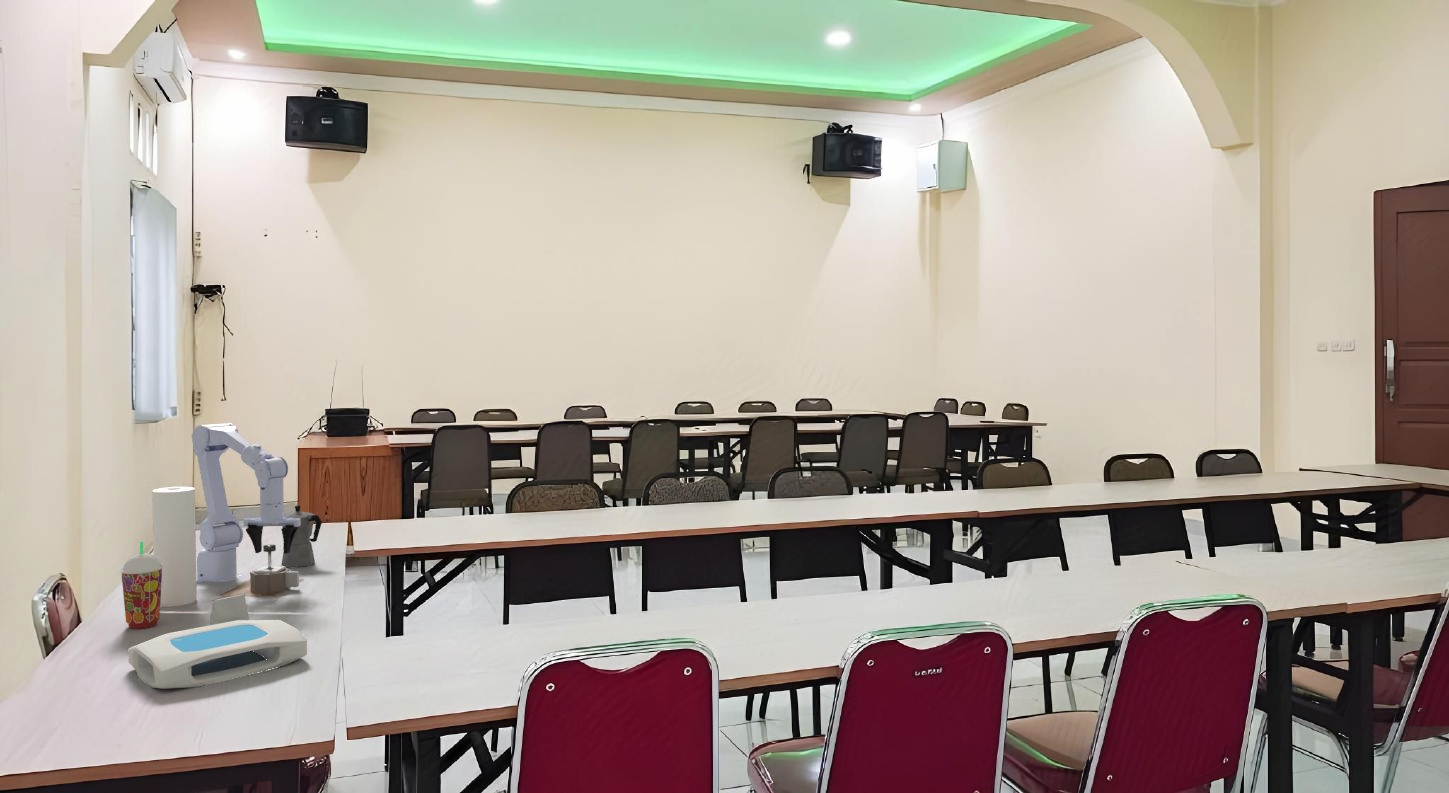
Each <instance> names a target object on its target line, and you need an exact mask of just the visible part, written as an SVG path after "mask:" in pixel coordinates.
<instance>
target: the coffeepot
mask: <svg viewBox="0 0 1449 793" xmlns="http://www.w3.org/2000/svg"><path fill="white" fill-rule="evenodd" d="M294 508H295V509H294V510H295V511H291V512H287V513H284V517H285V518H299V519H301V525H300V526H298V529H297V531H296V533H295V535H294V538H293V540H292V543H291V547H290V552H288V553H284V551H283V552H282V560H281V566H285V568H289V567H296V568H304V567H309V566H308V565H310V566H312V565H314V564H315V555H314V554H315V553H314V550H313V546H312V543H314V542H315V543H316V542H317V540H318V538H319V533H320V530H321V527H322V524H323V523H322V522H323V521H322V519H321V518H320V516H319V515H318V514H314V513H312V512H306V511H301V505H299V504H298V505H297V504H296V505H294ZM314 523H315V524H314ZM314 525H315V527H314ZM281 527H282V528H284V527H285V526H281ZM282 528H281V529H282ZM313 528H314V531H313ZM312 535H313V537H312V538H310V537H311V536H312ZM313 563H314V564H313ZM311 564H312V565H311Z"/></svg>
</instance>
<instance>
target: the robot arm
mask: <svg viewBox="0 0 1449 793" xmlns="http://www.w3.org/2000/svg"><path fill="white" fill-rule="evenodd" d="M191 440H192V446H193V451H194V455H195V457H196V459H197V464H198V468H199V475H200V480H201V484H202V490H203V496H204V500H205V506H206V511H207V517H206V518H205V519H204V520H203V521H202V522H201V523H200V524H199V528H200V532H199V542H200V544H201V546H202V547H203V548H202V549H201V550H199V552H198V554H197V556H196V583H203V582H231V581H234V580H235V579H237V578H240V577H241V576H243V574H238V573H237V572H238V570H237V548H238V547H239V546H240V544H241V543H242V542H243V538H244V529H243V527H247V528H245V532H246V533H247V535H248V537H249V538H250V540H251V542H252V546H253V549H254V552H255V554H260V553H262V551H263V550H262V549H263V542H262V541H263V540H262V538H263V537H262V536H263V531H264V530H263V529H264V527H282V526H285V527H284V528H280V530H281V534H282V540H283V550H282V551H283V552H284V553H288V552H290V547H291V543H292V540H293V538H294V535H295V533H296V531H297V529H298V526H300V525H301V519H299V518H285V517H284V514H285V513H284V512H285V511H284V509H285V508H284V504H285V503H284V500H285V499H284V479H285V478H286V477H287V475H288V472H289V465H288V463H287V461H286V460H285V458H284V457H283V456H282V457H281V456H278V457H276V456H273V455H272V454H271V453H269V452H267V451H266V449H264V448H262V446H261V444H251V443H249V442H248V441H247V440H246V439H245V438H244V437H243V436H242V435H241V434H239V430H238V427H237V426H235V425H234V424H233V423H231V422H227V423H216V424H215V423H214V424H198V425H196V426H195V428H194V430H193V431H192V434H191ZM229 449H231V450H232V451H235V452H236V453H237V454H239V455H240V458H241V461H242V462H243V463H244V464H245V465H247V466H248V467H249V468H251V469H252V470H253V471H254V474H255V477H256V481H257V486H258V487H259V494H260V495H259V503H260V504H259V506H260V508H259V509H260V511H259V512H260V517H247V518H246V517H245V518H243V527H242V526H241V523H240V521H239V517H237V516H236V515H235V514H233V513H231V512H230V510H229V504H228V499H227V493H226V488H225V485H224V484H225V483H224V477H223V473H222V468H221V461H220V457H221V456H222V455H223V454H224V453H225V454H226V452H227V451H228V450H229Z"/></svg>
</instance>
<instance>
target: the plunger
mask: <svg viewBox="0 0 1449 793" xmlns="http://www.w3.org/2000/svg"><path fill="white" fill-rule="evenodd" d="M276 548H277V546H276V544H272V543H271V544H265V545H262V549H263V550H262V551H263V553H267V566H268V570H271V566H272V553H273V552H275V551H277V549H276ZM281 572H283V570H282V571H280V572H278V573H281ZM256 574H267V573H256Z"/></svg>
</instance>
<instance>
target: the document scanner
mask: <svg viewBox="0 0 1449 793" xmlns="http://www.w3.org/2000/svg"><path fill="white" fill-rule="evenodd" d="M127 650H128V651H127V652H128V664H130V665H131V667H133V669H134V670H135V672H136V675H137V678H139V680H141V681H142V682H143V683H144V684H146V685H147V686H148V687H149V688H151V689H154V688H155V689H166V690H167V689H185V688H187V689H188V688H199V687H200V686H201V687H204V686H203V685H205V686H209V685H213V684H212V683H214V684H218V683H222V682H225V681H224V680H227V681H230V679H231V680H233V679H232V678H236V679H239V678H238V677H240V678H242V677H241V676H244V675H249V674H252V673H257V672H261V671H266V670H268V669H272V668H276V667H279V666H282V667H284V666H286V665H288V664H291V663H292V662H296V661H298V660H300V659H301V658H304V657H306V656H307V655H308V641H307V639H306V637H304V636H303V635H302V633H300V630H298V629H297V628H296V627H294V626H293V625H291V624H289V623H287V622H285V621H283V620H281V619H251V620H250V619H249V620H237V621H231V622H225V623H220V624H215V625H210V624H209V625H205V626H201V627H194V628H189V629H184V630H179V631H174V632H168V633H165V634H162V635H159V636H156V637H154V638H151V639H149V640H146V641H143V642H141V643H139V644H136V645H133V646H131V647H128V649H127ZM250 651H254V652H256V653H258V654H257V655H259V654H260V655H262V656H264V657H265V658H266V659H267V660H266V659H265V658H264V657H263V658H264V659H263V660H261V661H257V662H252V663H248V664H244V665H241V666H237V667H233V668H228V669H223V670H219V671H214V672H209V673H208V672H207V673H204V674H198V675H192V666H196V665H198V664H200V663H204V662H206V661H210V660H215V659H219V658H225V657H229V656H233V655H238V654H242V653H243V654H244V653H247V652H250ZM256 653H255V654H256ZM260 655H259V656H260ZM262 656H261V657H262ZM279 668H280V667H279ZM266 672H267V671H266ZM257 674H258V673H257ZM249 676H250V675H249ZM244 677H245V676H244ZM221 681H222V682H221ZM217 682H218V683H217Z"/></svg>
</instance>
